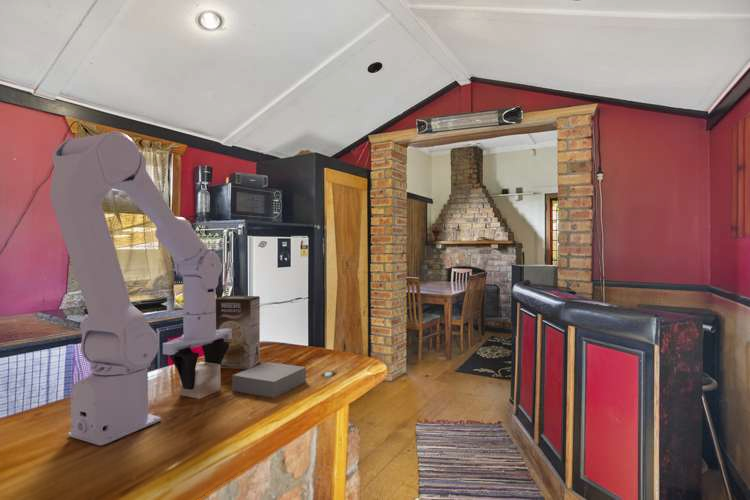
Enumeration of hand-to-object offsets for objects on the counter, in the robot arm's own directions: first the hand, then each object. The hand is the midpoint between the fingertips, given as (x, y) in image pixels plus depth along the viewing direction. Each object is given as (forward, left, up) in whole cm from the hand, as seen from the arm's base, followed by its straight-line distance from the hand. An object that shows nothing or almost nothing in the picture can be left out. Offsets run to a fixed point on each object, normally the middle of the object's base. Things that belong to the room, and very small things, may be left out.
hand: (200, 383), depth 78 cm
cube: (0, 0, -2) cm, 2 cm away
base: (+8, -10, -2) cm, 13 cm away
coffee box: (+17, +7, -2) cm, 18 cm away
